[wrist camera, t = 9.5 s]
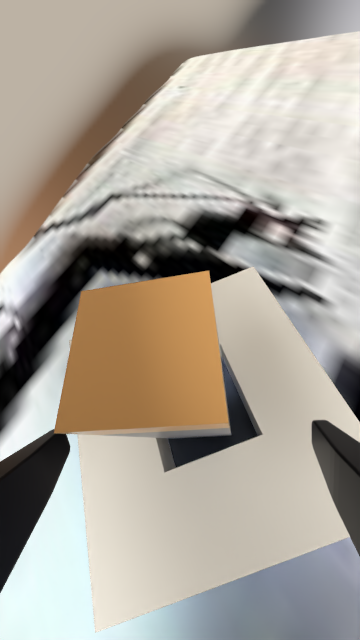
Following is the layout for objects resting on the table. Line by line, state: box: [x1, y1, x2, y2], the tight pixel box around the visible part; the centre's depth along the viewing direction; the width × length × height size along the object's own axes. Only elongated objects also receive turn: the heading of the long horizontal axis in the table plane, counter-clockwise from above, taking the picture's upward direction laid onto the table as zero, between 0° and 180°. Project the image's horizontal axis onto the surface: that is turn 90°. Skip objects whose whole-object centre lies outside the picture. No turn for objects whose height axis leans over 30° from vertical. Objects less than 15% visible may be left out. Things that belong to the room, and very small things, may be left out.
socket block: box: [69, 267, 360, 633], centre depth 16 cm, size 16×16×3 cm
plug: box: [54, 271, 232, 439], centre depth 12 cm, size 4×4×13 cm
